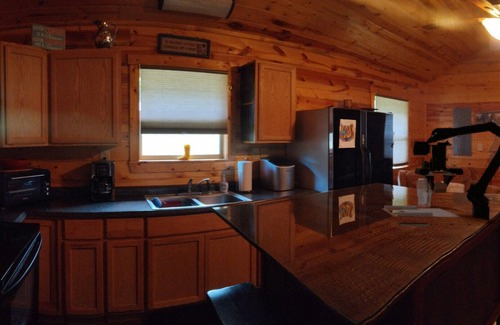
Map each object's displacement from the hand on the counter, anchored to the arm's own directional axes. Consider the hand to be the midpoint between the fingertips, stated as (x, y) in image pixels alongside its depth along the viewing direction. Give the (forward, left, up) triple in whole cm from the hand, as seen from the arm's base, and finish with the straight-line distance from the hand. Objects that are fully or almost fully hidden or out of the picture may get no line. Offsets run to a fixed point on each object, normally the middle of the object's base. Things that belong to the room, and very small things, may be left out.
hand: (438, 190), depth 146 cm
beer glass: (+16, -1, -12) cm, 20 cm away
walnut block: (0, 0, -1) cm, 1 cm away
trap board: (0, +8, -12) cm, 14 cm away
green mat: (-14, +18, -12) cm, 26 cm away
